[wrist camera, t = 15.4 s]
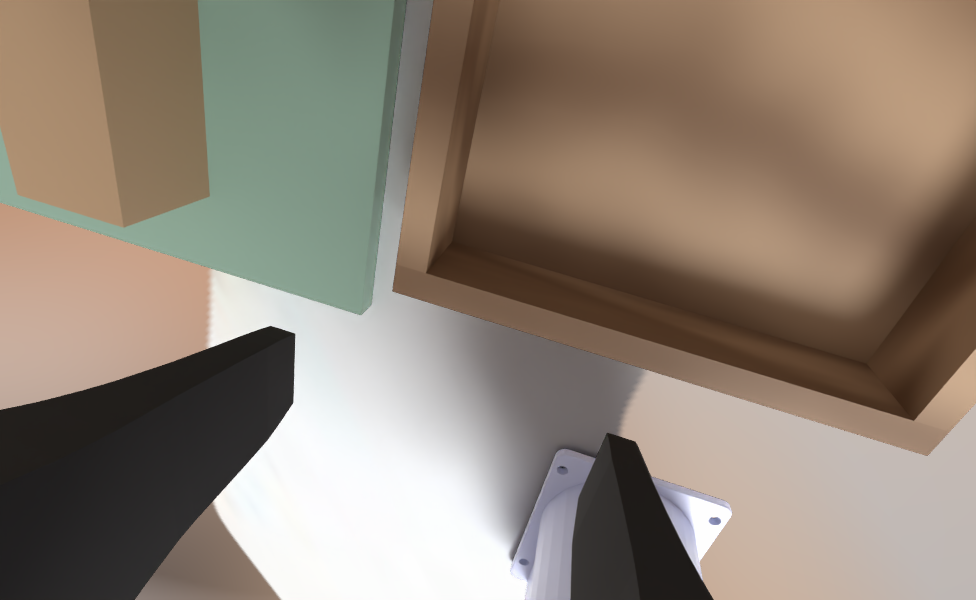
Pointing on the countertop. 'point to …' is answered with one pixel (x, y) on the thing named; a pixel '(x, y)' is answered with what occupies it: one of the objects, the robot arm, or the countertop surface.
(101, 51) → the lid
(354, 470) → the countertop surface
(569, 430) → the countertop surface
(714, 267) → the wooden box
